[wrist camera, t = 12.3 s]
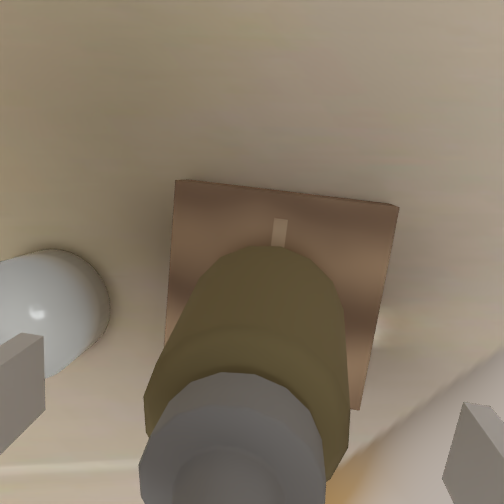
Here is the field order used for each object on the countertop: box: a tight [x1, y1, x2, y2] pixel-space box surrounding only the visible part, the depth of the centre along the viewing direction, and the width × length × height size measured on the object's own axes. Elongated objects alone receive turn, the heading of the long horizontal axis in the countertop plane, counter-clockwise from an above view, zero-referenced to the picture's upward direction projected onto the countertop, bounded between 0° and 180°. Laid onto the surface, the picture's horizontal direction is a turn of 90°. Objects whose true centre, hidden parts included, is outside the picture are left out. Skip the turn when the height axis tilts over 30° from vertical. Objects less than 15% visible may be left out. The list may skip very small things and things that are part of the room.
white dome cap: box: [0, 249, 110, 378], centre depth 26 cm, size 8×8×4 cm
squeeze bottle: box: [139, 246, 350, 504], centre depth 14 cm, size 8×8×18 cm
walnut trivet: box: [164, 179, 399, 410], centre depth 24 cm, size 13×13×3 cm
